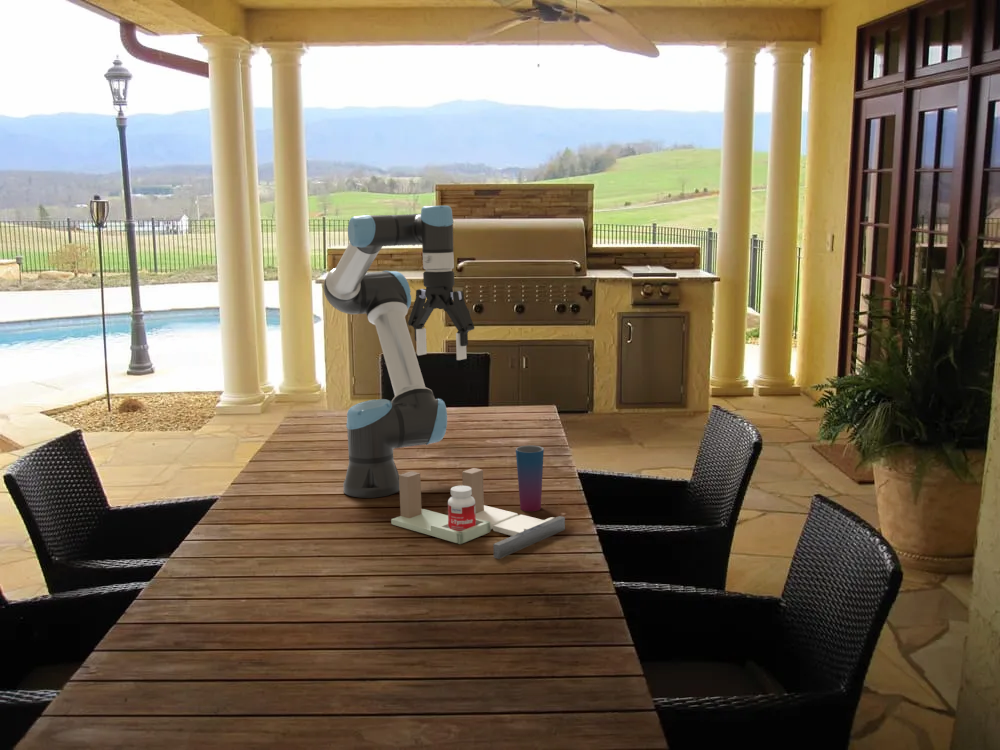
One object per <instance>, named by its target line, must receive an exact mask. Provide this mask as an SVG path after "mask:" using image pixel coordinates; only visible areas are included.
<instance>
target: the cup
mask: <svg viewBox="0 0 1000 750" xmlns="http://www.w3.org/2000/svg"><path fill="white" fill-rule="evenodd" d="M544 451H545V448H544V447H543V446H540V445H532V444H531V445H521V446H518V447H516V448H515V458H516V459H515V460H516V470H517V484H518V493H519V494H518V495H519V507H520V510H521V511H523V512H537V511H540V510H541V508H542V495H543V494H542V493H543V492H542V490H543V474H544V473H543V472H544V469H543V468H544Z"/></svg>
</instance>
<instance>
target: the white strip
mask: <svg viewBox="0 0 1000 750" xmlns="http://www.w3.org/2000/svg"><path fill="white" fill-rule="evenodd" d="M553 518H555V517H553V516H552V517H548V518H546V519H540V518H536V517H532V516H529V515H525V514H518V516H516V517H513V518H511V519H508V520H506V521H504V522H501V523H499V524H496V525H494V526H493V529H492V530H493V532H496V533H501V534H504V535H508V536H510V537H511V536H513V535H516V534H518V533H520V532H523V531H525V530H527V529H530V528H532V527H535V526H537V525H539V524H542V523H544V522H546V521H549V520H551V519H553Z"/></svg>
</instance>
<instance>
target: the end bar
mask: <svg viewBox="0 0 1000 750" xmlns="http://www.w3.org/2000/svg"><path fill="white" fill-rule="evenodd" d="M565 521H566V518H565V516H562V515H559V516H556V517H554V518H553V519H551V520H549V521H546V522H544V523H542V524H539V525H537V526H535V527H532V528H530V529H527V530H525V531H523V532H520V533H518V534H516V535H513V536H511V535H510V537H506V538H504V539H502V540H500V541H497V542H495V543H493V545H492V546H493V558H494V559H497V560H501V559H503V558H505V557H507V556H509V555H511V554H512V555H513V554H514V553H516V552H518V551H521V550H523V549H525V548H527V547H530V546H531V545H534V544H536V543H539V542H541V541H542V540H543V541H544V540H545V539H547V538H550V537H552V536H554V535H556V534H559V533H560V532H563V531H565V530H566V526H565V525H566V522H565Z"/></svg>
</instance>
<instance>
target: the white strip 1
mask: <svg viewBox="0 0 1000 750" xmlns="http://www.w3.org/2000/svg"><path fill="white" fill-rule="evenodd" d="M461 474H462V486H469V487H471V488H472V495H471V496H472V497H473V498H474V499H475V512H476V518H478V519H482V520H485V521H489V522H490V531H491V530H493V526H494V525H496V524H499V523H501V522H504V521H506V520H508V519H511V518H513V517H516V516H518V515H519V514H518V513H517V512H513V511H510V510H509V511H508V510H504V509H501V508H497V507H493V506H488V505H485V497H484V496H485V495H484V492H485V491H484V470H483V469H480V468H476V467H472V468H469V469H467V470H463V471H462V473H461Z"/></svg>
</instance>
